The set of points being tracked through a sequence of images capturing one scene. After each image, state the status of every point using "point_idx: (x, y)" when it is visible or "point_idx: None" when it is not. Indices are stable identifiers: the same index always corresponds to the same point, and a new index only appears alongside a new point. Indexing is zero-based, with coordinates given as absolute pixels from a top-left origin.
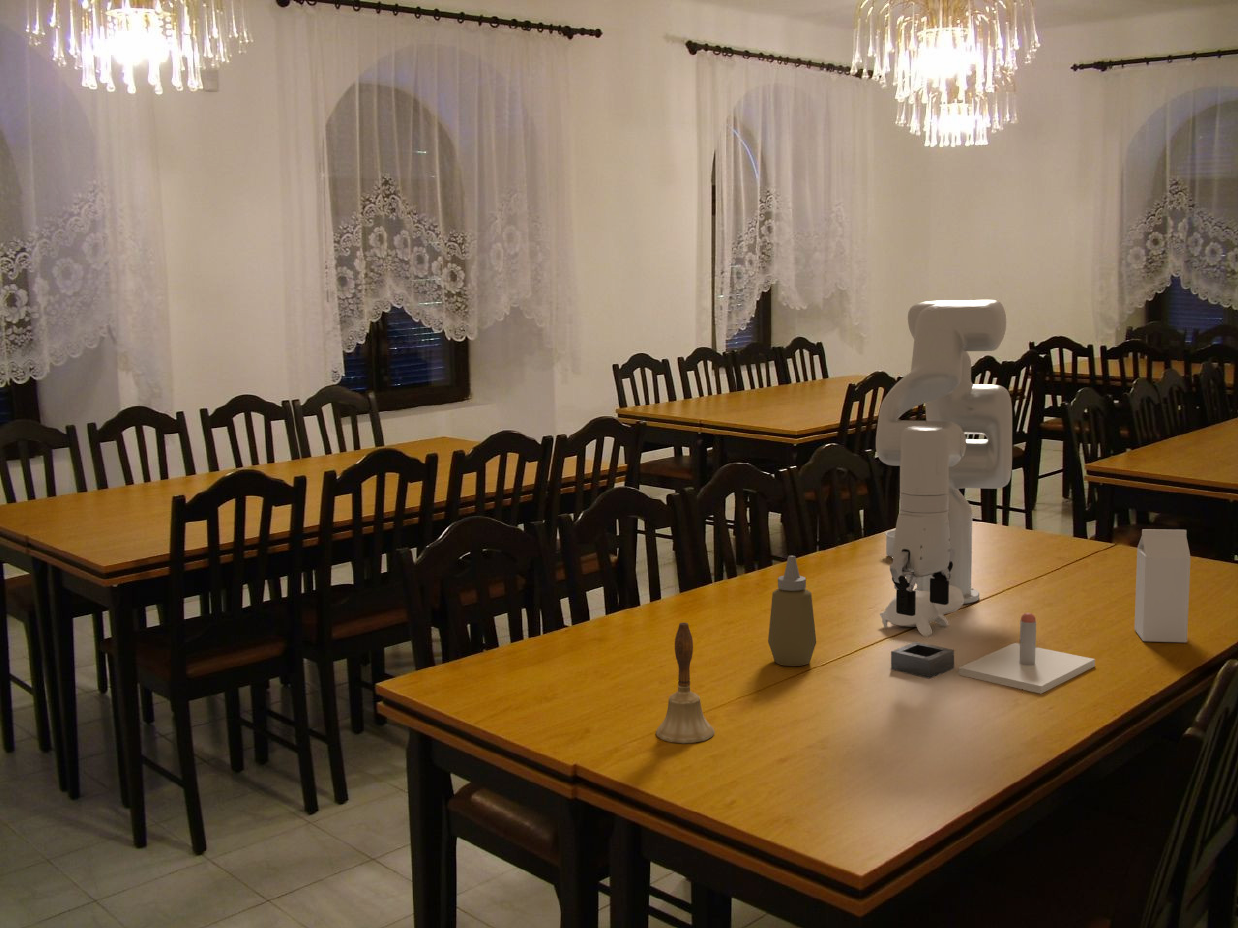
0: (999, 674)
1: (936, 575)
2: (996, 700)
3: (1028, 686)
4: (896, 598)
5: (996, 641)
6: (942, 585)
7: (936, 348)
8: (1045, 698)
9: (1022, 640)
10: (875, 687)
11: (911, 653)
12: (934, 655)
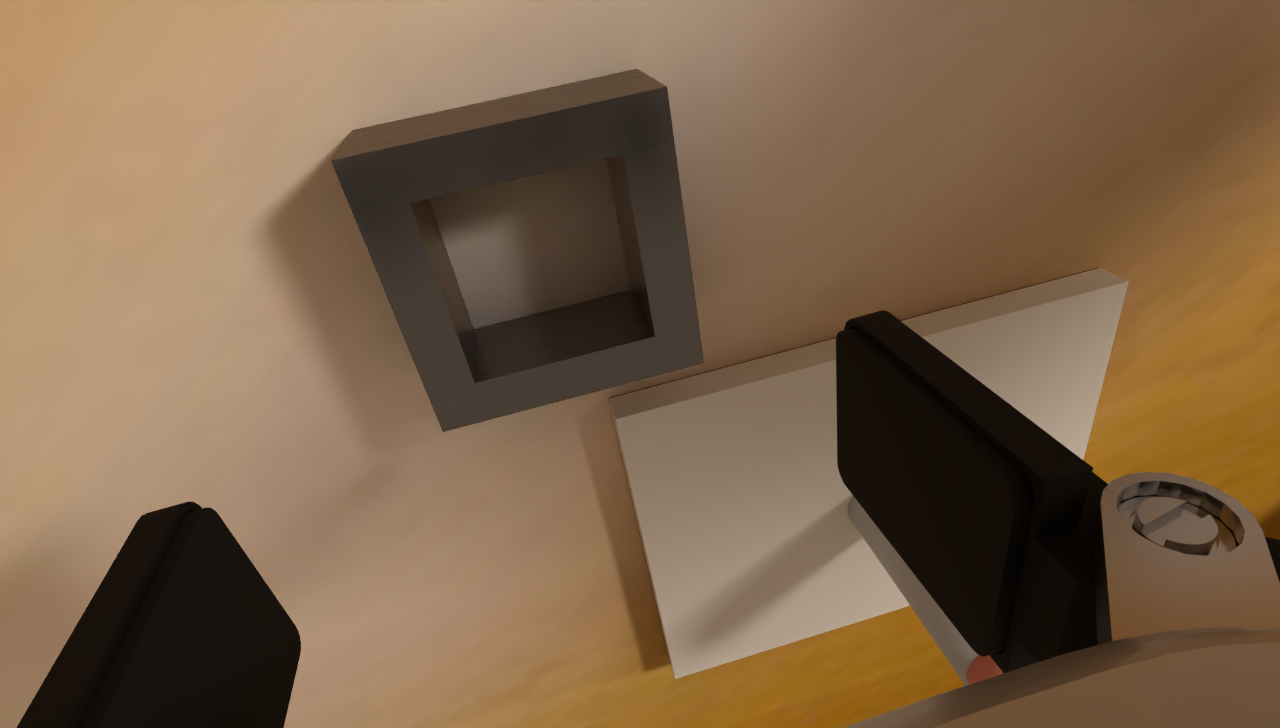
0: (673, 553)
1: (1085, 608)
2: (488, 652)
3: (665, 638)
4: (61, 655)
5: (1197, 115)
6: (958, 589)
7: None
8: (641, 682)
9: (905, 587)
10: (40, 337)
11: (434, 281)
12: (533, 380)
